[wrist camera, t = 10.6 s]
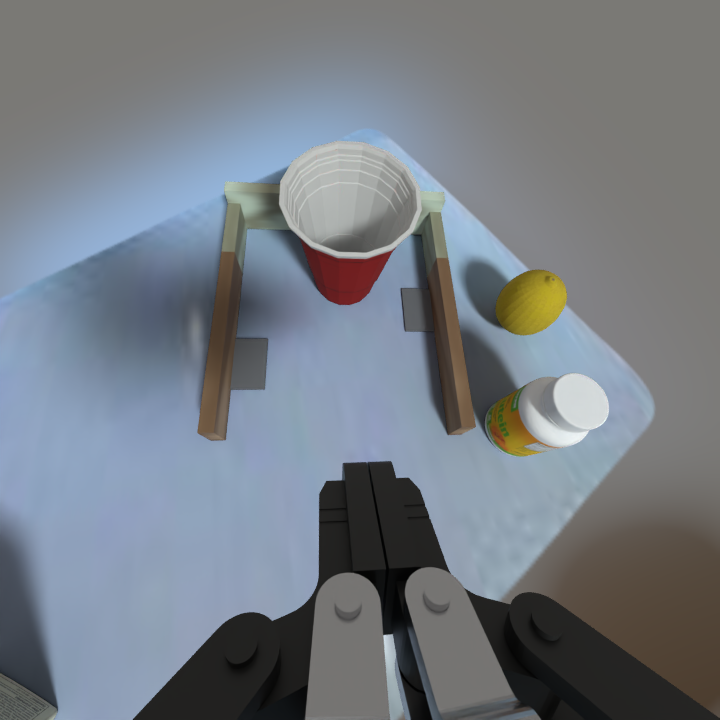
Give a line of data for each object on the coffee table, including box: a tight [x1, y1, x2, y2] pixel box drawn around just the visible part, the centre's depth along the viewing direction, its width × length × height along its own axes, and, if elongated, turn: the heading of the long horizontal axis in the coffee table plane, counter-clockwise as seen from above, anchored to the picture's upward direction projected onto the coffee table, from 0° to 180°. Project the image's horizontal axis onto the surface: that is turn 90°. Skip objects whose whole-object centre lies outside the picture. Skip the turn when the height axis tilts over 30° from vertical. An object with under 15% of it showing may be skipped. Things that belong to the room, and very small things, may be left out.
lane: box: [197, 182, 476, 441], centre depth 33 cm, size 22×24×5 cm
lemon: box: [495, 270, 567, 335], centre depth 33 cm, size 6×6×8 cm
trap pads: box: [230, 289, 435, 390], centre depth 35 cm, size 22×6×1 cm, turn 112°
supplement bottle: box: [485, 373, 609, 457], centre depth 28 cm, size 5×5×10 cm
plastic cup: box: [279, 141, 422, 305], centre depth 32 cm, size 11×11×12 cm
